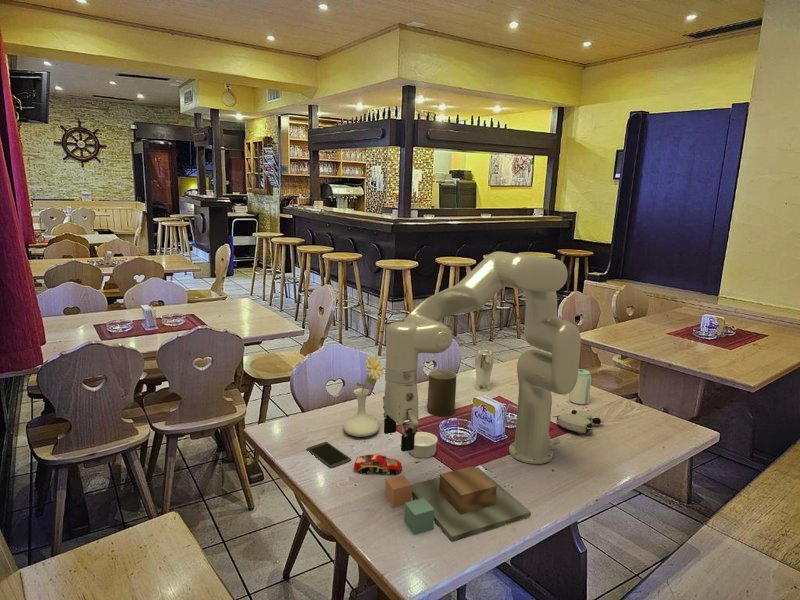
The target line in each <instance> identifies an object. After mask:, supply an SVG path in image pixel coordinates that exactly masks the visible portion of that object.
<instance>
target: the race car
mask: <svg viewBox="0 0 800 600" xmlns="http://www.w3.org/2000/svg"><path fill="white" fill-rule="evenodd" d="M353 466H354V469H353V470H354V471H355V472H357V473H360V474H365V475H367V474H371V475H372V474H374V475H375V474H377V475H390V476H397V475H396V474H400V473H401V471H402V470H403V465H402V462H400V461H399V459H395V458H391V457H387V456H386V455H382V454H377V453H376V454H374V453H372V454H365V455H359V456H357V457H356V459H355V461H354V463H353Z"/></svg>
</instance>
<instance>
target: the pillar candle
mask: <svg viewBox="0 0 800 600" xmlns="http://www.w3.org/2000/svg"><path fill="white" fill-rule="evenodd" d="M456 392H457V373H456V372H454V371H451V370H444V369H437V370H430V371H429V373H428V387H427V405H426V406H427V407H426V410H427V412H428V413H429V414H430V415H433V416H436V417H450V416H452V415H454V414H455V412H456V409H455V408H456Z"/></svg>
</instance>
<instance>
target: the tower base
mask: <svg viewBox="0 0 800 600" xmlns="http://www.w3.org/2000/svg"><path fill="white" fill-rule="evenodd" d="M411 484H412V497H413V498H414V500H417V499H421V498H425V500H426V501H427V502H428V503H429V504H430V505H431V506H432V507H433V509H434V524H436V526H438V527H439V529H440V530H441V531H442V532H443V533H444V534H445V535H446V537H447V538H449V540H450V541H451V542H454V541H455V542H456V541H458V540H461V539H465V538H468V537H470V536H474V535H477V534H480V533H483V532H486V531H489V530H493V529H495V528H496V529H497V528H499V527H502V526H506V525H509V524H511V522H512V523H514V522H518V521H521V520H524V519H527V517H528V518H530V516H532V515H531V514H532V511H531V510H529V509H528V508H527V507H526V506H525V505H523V504H522V503H521V502H520V501H519V500H517V499H516V498H515V497H514V496H513V495H511V494H510V492H508V491H507V490H505V489H504V488H503V487H502V486H501V485H500V484H499V483H497V482H496V481H495V480H494V479H493V478H492V477H490V476H489V475H488V474H486V472H484V471H483V470H482V469H481V468H479V467H475V466H474V465H472V466H468V467H463V468H459V469H455V470H451V471H447V472H444V473H440V474H439V477H434V478H431V479H427V480H424V481H419V482H416V483H415V482H414V483H411ZM523 518H524V519H523ZM520 519H521V520H520ZM508 523H509V524H508ZM505 524H506V525H505Z"/></svg>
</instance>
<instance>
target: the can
mask: <svg viewBox="0 0 800 600" xmlns="http://www.w3.org/2000/svg"><path fill="white" fill-rule="evenodd" d="M591 384H592V375H591V372H590V371H589V370H587V369H583V368H579V371H578V378H577V382H576V385H575V387H574V389H573V390H572V391H571V392H570V393H568V394H569V396H568V399H569V401H570V402H572V403H573V404H575V405H578V406H580V405H581V406H584V404H585V405H587V404H589V403H590V397H591V395H590V394H591Z"/></svg>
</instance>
